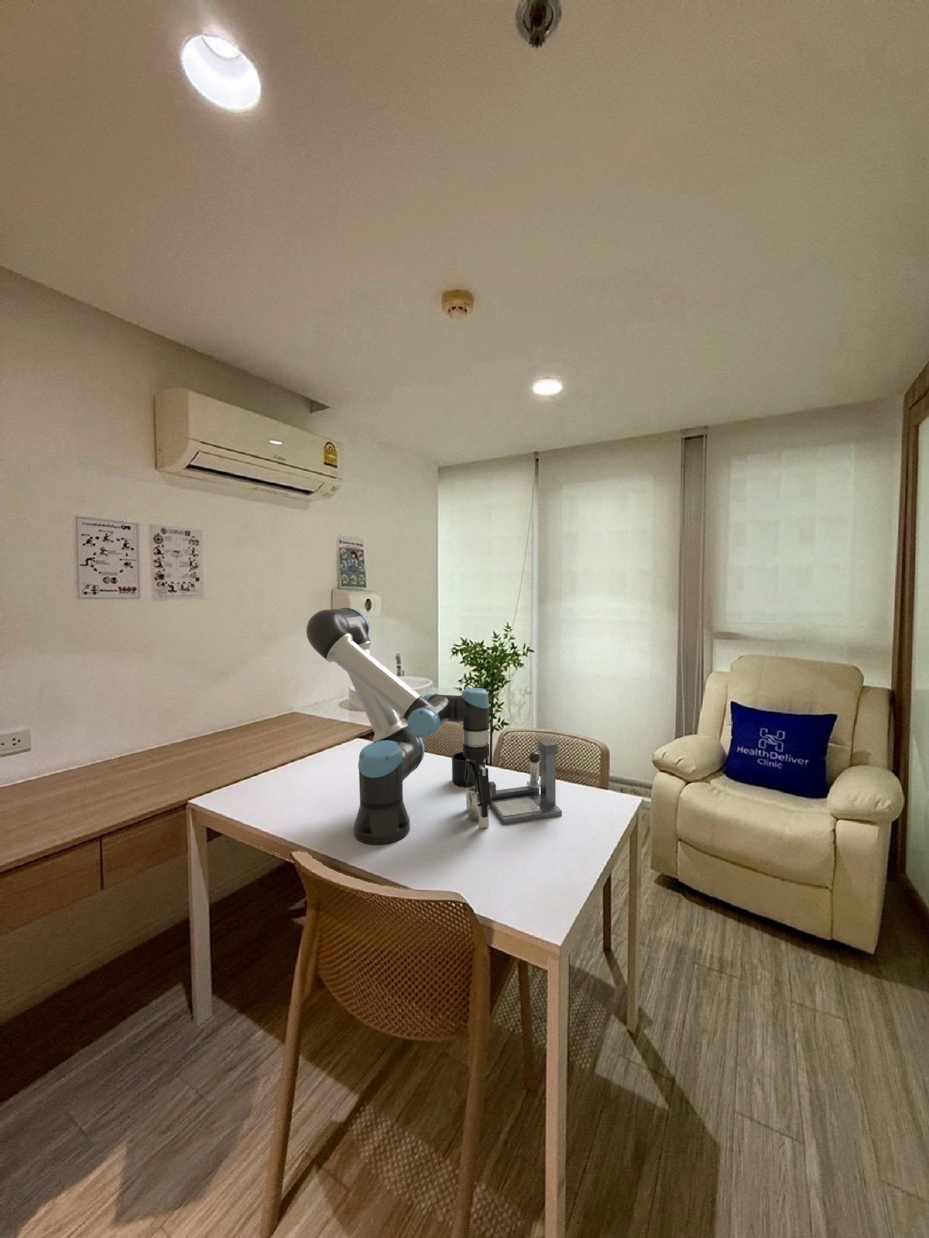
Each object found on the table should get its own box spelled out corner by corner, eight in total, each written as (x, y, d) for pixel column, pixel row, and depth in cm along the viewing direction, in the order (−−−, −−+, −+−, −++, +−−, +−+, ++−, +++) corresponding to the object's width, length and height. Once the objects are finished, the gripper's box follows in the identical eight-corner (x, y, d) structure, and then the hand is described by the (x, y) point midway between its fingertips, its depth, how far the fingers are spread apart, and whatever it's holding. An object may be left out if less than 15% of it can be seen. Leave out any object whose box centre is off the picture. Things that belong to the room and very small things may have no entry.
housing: (471, 823, 136) (470, 790, 135) (466, 815, 141) (465, 783, 140) (487, 820, 137) (487, 788, 137) (482, 813, 142) (481, 781, 141)
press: (503, 824, 135) (503, 754, 133) (485, 801, 150) (485, 738, 149) (563, 815, 140) (563, 747, 139) (540, 793, 155) (539, 732, 154)
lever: (531, 788, 151) (531, 754, 150) (526, 784, 154) (526, 750, 153) (542, 787, 152) (542, 753, 151) (538, 782, 155) (537, 749, 154)
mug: (472, 792, 157) (471, 764, 156) (446, 782, 165) (446, 756, 164) (491, 783, 163) (490, 757, 163) (465, 774, 172) (465, 749, 171)
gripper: (503, 754, 127) (503, 835, 129) (476, 730, 150) (477, 798, 151) (476, 757, 125) (477, 839, 126) (453, 732, 148) (454, 802, 149)
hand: (477, 817), depth 139 cm, fingers open, 11 cm apart
